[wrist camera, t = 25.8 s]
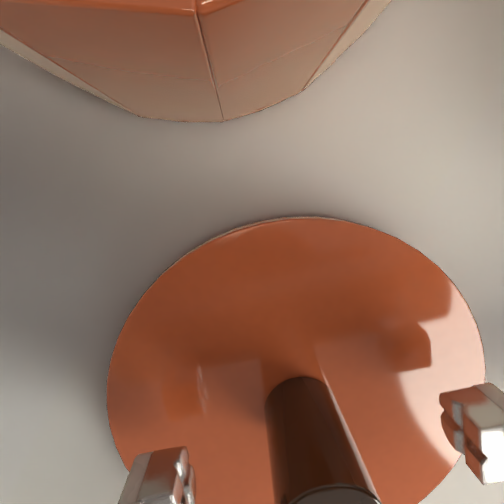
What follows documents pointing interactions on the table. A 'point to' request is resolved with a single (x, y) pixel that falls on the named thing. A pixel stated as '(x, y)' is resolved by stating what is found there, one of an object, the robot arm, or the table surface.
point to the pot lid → (297, 366)
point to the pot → (186, 49)
